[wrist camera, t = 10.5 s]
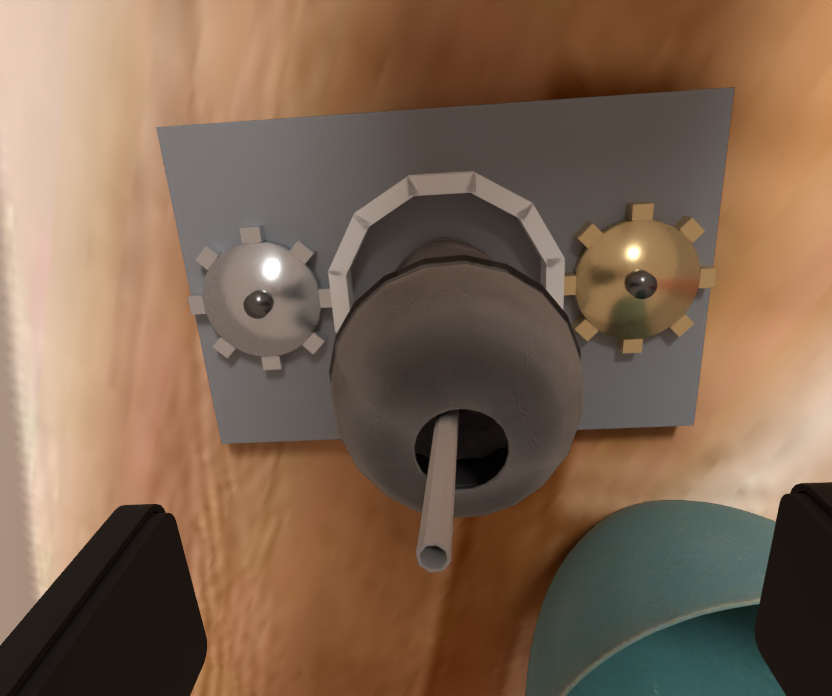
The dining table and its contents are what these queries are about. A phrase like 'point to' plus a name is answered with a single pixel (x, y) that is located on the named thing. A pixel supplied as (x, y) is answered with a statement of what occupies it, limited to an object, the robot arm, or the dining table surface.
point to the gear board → (451, 226)
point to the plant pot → (657, 606)
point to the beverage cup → (456, 387)
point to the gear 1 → (262, 297)
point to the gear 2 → (637, 277)
